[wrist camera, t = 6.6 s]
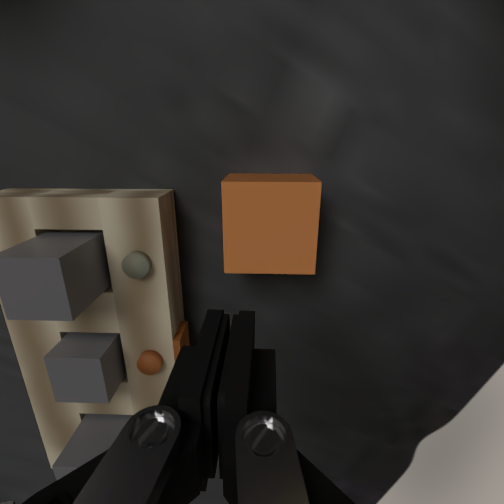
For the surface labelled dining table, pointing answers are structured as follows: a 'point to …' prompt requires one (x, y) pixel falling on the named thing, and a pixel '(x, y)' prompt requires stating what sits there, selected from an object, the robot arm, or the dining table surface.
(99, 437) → the block
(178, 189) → the dining table surface
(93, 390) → the block
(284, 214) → the cap
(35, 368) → the breaker board
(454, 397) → the dining table surface
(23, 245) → the block
